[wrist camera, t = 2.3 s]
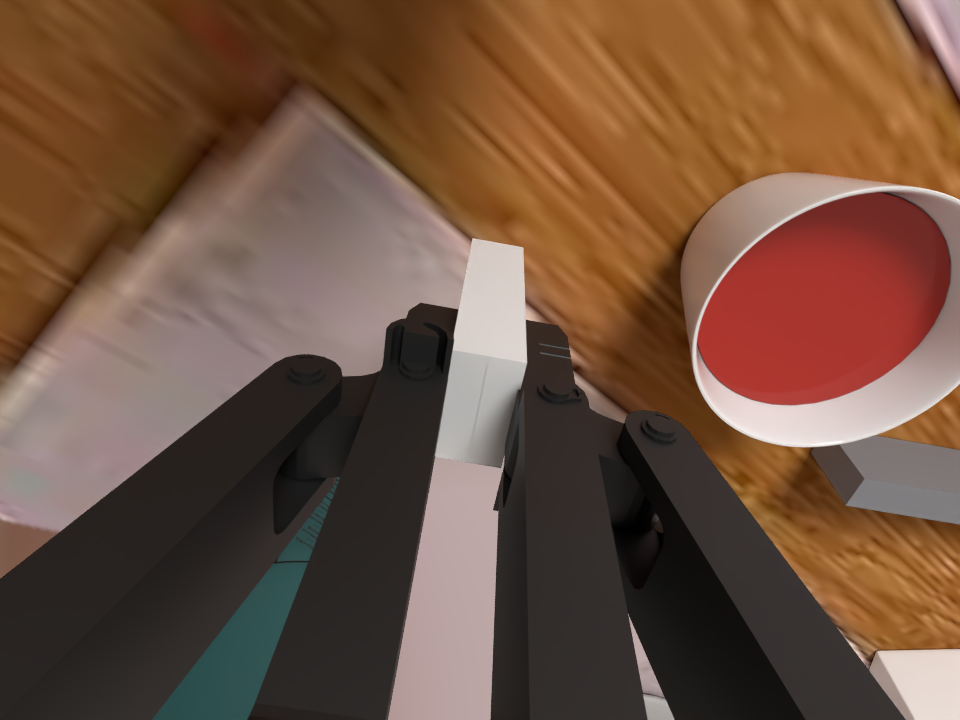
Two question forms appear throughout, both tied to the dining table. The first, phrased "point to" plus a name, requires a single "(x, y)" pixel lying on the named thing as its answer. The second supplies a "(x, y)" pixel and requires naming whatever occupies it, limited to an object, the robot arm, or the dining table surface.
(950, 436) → the dining table surface
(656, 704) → the chalice
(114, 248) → the dining table surface
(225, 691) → the beverage bottle
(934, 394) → the candle
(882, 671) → the milk
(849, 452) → the corner fence
